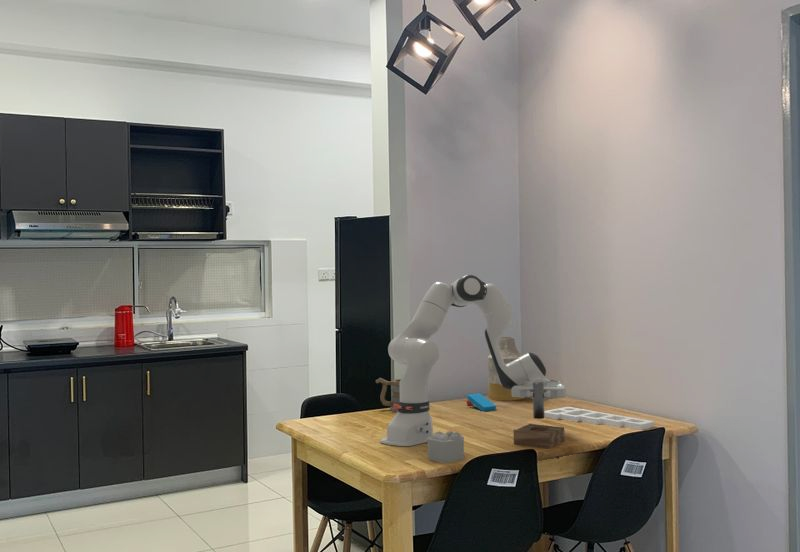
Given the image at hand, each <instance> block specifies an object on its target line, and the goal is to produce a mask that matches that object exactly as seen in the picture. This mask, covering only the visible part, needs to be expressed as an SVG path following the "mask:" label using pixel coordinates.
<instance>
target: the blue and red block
mask: <svg viewBox="0 0 800 552" xmlns="http://www.w3.org/2000/svg"><path fill="white" fill-rule="evenodd" d="M465 402H466V405H467V406H468V405H469V406H470V407H471V405H472V406H475V407H476V408H477V409H479V410H480V411H481V412H490V411H497V405H496V404H495V403H494V402H492V401H491V400H490V399H489V398H487V397H485V396H484V395H482V393H479V392H478V393H472V394H471V393H470V394H467V397H466V401H465Z"/></svg>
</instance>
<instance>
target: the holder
mask: <svg viewBox="0 0 800 552" xmlns="http://www.w3.org/2000/svg"><path fill="white" fill-rule="evenodd" d="M545 417H548V418H547V419H550V418H553V419H552V420H556V419H557V420H563V419H566V420H565V421H568V420H571V421H570V422H573V421H575V423H579V422H578V421H580V422H581V421H583V422H582V423H586V422H588V423H587V424H591V423H593V425H597V424H598V425H604V424H606V425H605V426H609V425H610V426H611V427H615V426H616V428H621V426H625V427H624V428H628V427H631V428H630V429H633V428H635V429H634V430H640V431H643V430H646V429H647V430H648V429H651V427H652V428H655V421H653V420H649V419H642V418H638V417H637V418H636V417H632V416H631V417H630V416H625V415H620V414H614V413H613V414H612V413H607V412H602V411H596V410H589V409H583V408H579V407H578V408H577V407H573V406H572V407H571V406H565V407H559V408H554V409H548V410H544V418H545ZM559 418H561V419H559Z"/></svg>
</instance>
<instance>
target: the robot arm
mask: <svg viewBox="0 0 800 552" xmlns="http://www.w3.org/2000/svg"><path fill="white" fill-rule="evenodd" d="M470 304H475V305H476V306H477V307H478V308H479V309H480V311H481V314H482V315H483V316H484V319H485V323H486V328H485V330H484V337H485V340H486V343H487V346H488V349H489V352H490V353H489V354H490V355H491V356H492V359H493V362H494V365H495V368H496V371H497V376H498V380H499V382H500V384H501V385H502V386H503V388H506V389H510V390H511V391H512V397H525V398H530V399H532V400H533V382H543V383H544V401H547V400H551V399H565V398H566V396H567V393H566V391H567V389H566V386H565V385H564V384H562V381H560V380H553V379H548V378H547V369H546V366H545V365H544V363H543V361H542V360H541V358H540V357H539V356H538V355H537V354H535V353H532V352H526V353H525V354H522V355H523V356H521V357H519V358H517V359H516V360H514V361H512V362H510V363H508V364H505V363H504V360H503V357H502V355H501V352H500V349H499V345H498V343H499V340H500V338H501V337H503V335H504V334H505V333H506V331H507V330H508V329H509V328H510V326H512V324H513V323H512V322H513V321H514V312H513V310H512V308H511V306H510V304H509V301H508V300H507V299H506V297H505V296H504V294H503V293H502V292H501V290H500V288H499V287H498V286H496V285H495V284H494V283H485V282H484V281H482V280H481V279H480V278H479V277H478V276H476V275H473V274H466V275H463V276H461V277H459V278H457V279H456V280H454V281H453V282H452V283H451V284H448V283H445V282H442V281H435V282H434V283H433V284H431V286H430V287H429V288H428V290H427V291H426V293H425V295H423V298H422V300H421V301H420V304H419V306H418V308H417V310H416V312H415V314H414V316H413V318H412V319H411V320H410V322H409V323H408V324H407V326H405V328H404V329H403V330H402V332H400V334H398V335H397V336H396V337H394V338H393V339H392V340H391V341H390V342H389V344H388V346H387V351H388V355H389V357H390V359H392V361H394V362H397V363H398V364H401V365H406V368H405V373H404V375H403V377H402V378H400V379H401V380H400V401H399V404H398V405H397V404H394V409H397V411H398V412H396V414H395V415H394V417H393V418H392V420H391V421H390V422H389V423H388V425H387V427H386V436H385V437H383V438H381V439H380V442H379V443H382V444H384V445H387V446H388V445H389V446H395V447H396V446H397V447H412V446H416V445H420V444H424V443H428V437H431V436H433V435H434V427H433V426H434V425H433V418H432V416H431V415H430V410H431V409H430V407H431V404H430V400H429V381H430V380H429V379H430V374H431V371H432V368H433V366H434V365H435V364H436V363H437V362H438V360H439V357H440V349H439V346H438V345H437V344H436V342H434V341H432V340H430V338H431V337H432V336H434V335H436V334H437V333H438V331H439V330H440V329H441V327H442V324H443V322H444V319H445V317H446V316H447V313H448V311H449V309H450V307H452V306H453V307H456V308H464V307H466V306H468V305H470ZM524 382H525V383H526V382H527V385H526V384H525V385H520V384H522V383H524Z"/></svg>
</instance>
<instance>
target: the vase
mask: <svg viewBox="0 0 800 552" xmlns="http://www.w3.org/2000/svg"><path fill="white" fill-rule="evenodd" d="M498 345H499V349H500V352H501V355H502V357H503V360H504V363H505V364H508V363H510V362H512V361H514V360H516V359H517V358H519V357H521V356H523V355H524V354H521V353H520V352H519V350H518V348H517V346H516V342H515V338H514V337H513V336H501V338H500V340H499V343H498ZM487 374H488V375H487V379H488V385H487V389H488V400H493V401H500V402H501V401H502V402H508V401H509V402H512V401H513V400H515V401H522V400H524V398H525V399H526V397H512V391H511V390H510V389H506V388H503V386H502V385H501V384H500V382H499V380H498V376H497V371H496V368H495V365H494V362H493V359H492V356H491V354H489V355H488V356H487ZM520 385H526V382H524V383H522V384H520ZM521 399H522V400H521Z"/></svg>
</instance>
